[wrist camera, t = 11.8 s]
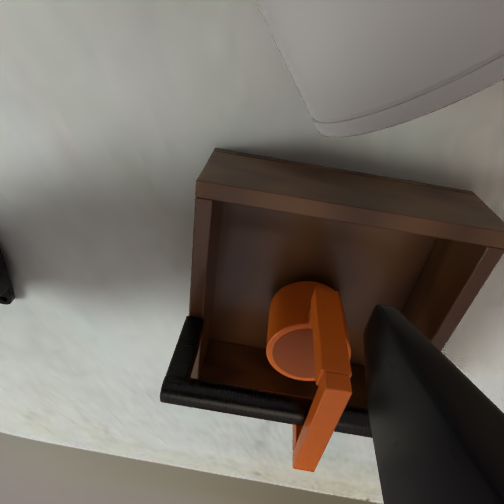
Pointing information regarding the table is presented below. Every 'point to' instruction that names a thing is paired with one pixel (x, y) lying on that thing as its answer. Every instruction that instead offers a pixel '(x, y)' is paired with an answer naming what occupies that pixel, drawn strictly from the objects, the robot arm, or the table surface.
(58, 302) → the table surface
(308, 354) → the measuring cup
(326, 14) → the bent grey cylinder
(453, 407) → the robot arm
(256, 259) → the basket
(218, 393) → the basket handle
